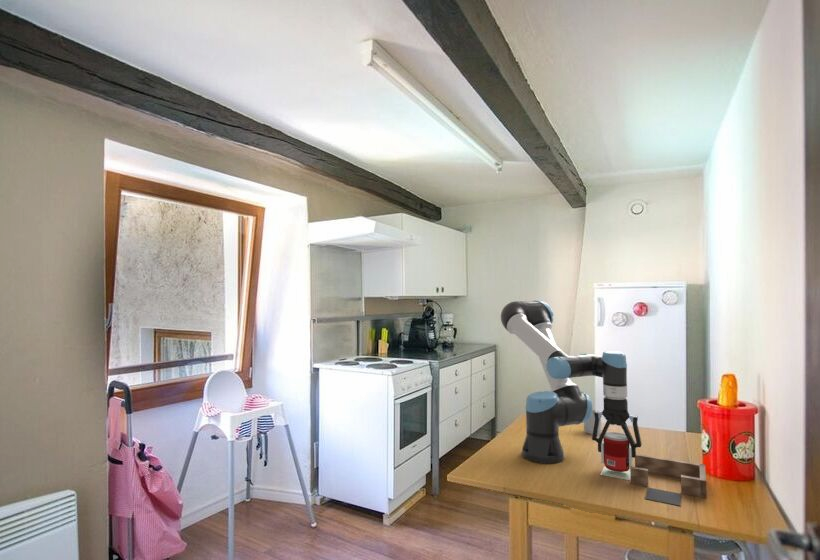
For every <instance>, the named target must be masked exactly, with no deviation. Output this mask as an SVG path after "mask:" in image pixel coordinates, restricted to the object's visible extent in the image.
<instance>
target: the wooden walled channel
mask: <svg viewBox="0 0 820 560" xmlns="http://www.w3.org/2000/svg"><path fill="white" fill-rule="evenodd" d="M629 469H630V477H631V478H630V484H632V485H637V486H641V487H647V488H648V487H649V473H654V474H659V475H664V476H671V477H677V478H680V494H684V495H690V496H694V497H698V498H699V497H700V498H704V499H705V498H706V499H707V477H706V476H707V474H706V465H705V464H702V463H697V462H696V463H695V462H691V461H690V462H689V461H683V460H682V461H681V460H677V459H672V458H664V457H663V458H662V457H659V456H653V455H646V454H639V453H636V457H635V458H634V466H631V467H630V468H629Z"/></svg>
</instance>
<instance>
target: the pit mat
mask: <svg viewBox="0 0 820 560" xmlns="http://www.w3.org/2000/svg"><path fill="white" fill-rule="evenodd" d="M644 500H647V501H653V502H657V503H658V502H659V503H663V504H667V505H671V506H672V505H673V506H677V507H681V506H682V501H681V500H682V493H681V492H680V493H678V492H674V491H668V490H663V489H657V488H652V487H649V486H648V487H647V490H646V494H645V499H644Z"/></svg>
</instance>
